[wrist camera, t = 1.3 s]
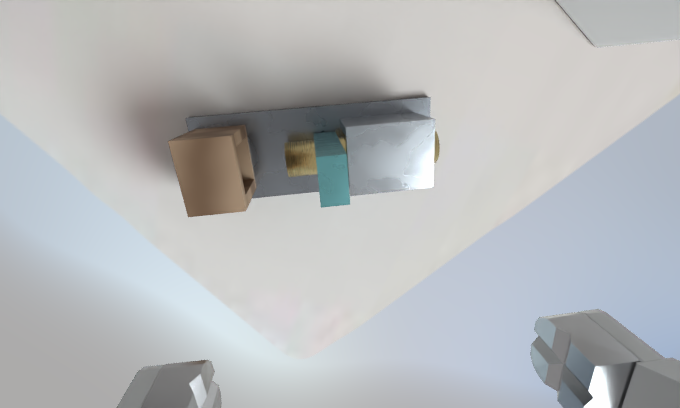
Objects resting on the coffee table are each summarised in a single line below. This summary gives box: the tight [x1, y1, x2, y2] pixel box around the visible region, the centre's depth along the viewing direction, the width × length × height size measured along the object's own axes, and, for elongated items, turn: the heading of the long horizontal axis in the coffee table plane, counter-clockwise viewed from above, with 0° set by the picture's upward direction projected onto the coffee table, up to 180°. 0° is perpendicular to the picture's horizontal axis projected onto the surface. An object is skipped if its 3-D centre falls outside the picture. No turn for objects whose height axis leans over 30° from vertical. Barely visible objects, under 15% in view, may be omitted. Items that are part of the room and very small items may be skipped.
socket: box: [168, 125, 256, 217], centre depth 28 cm, size 4×6×6 cm
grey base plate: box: [186, 97, 435, 198], centre depth 29 cm, size 22×8×6 cm, turn 94°
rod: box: [285, 131, 439, 207], centre depth 26 cm, size 13×4×10 cm, turn 94°
